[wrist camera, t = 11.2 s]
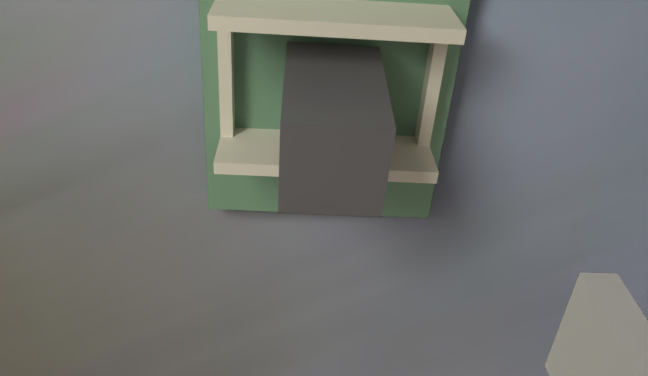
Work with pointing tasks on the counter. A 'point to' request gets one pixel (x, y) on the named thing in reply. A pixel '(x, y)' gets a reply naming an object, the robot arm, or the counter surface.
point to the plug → (334, 131)
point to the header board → (268, 77)
